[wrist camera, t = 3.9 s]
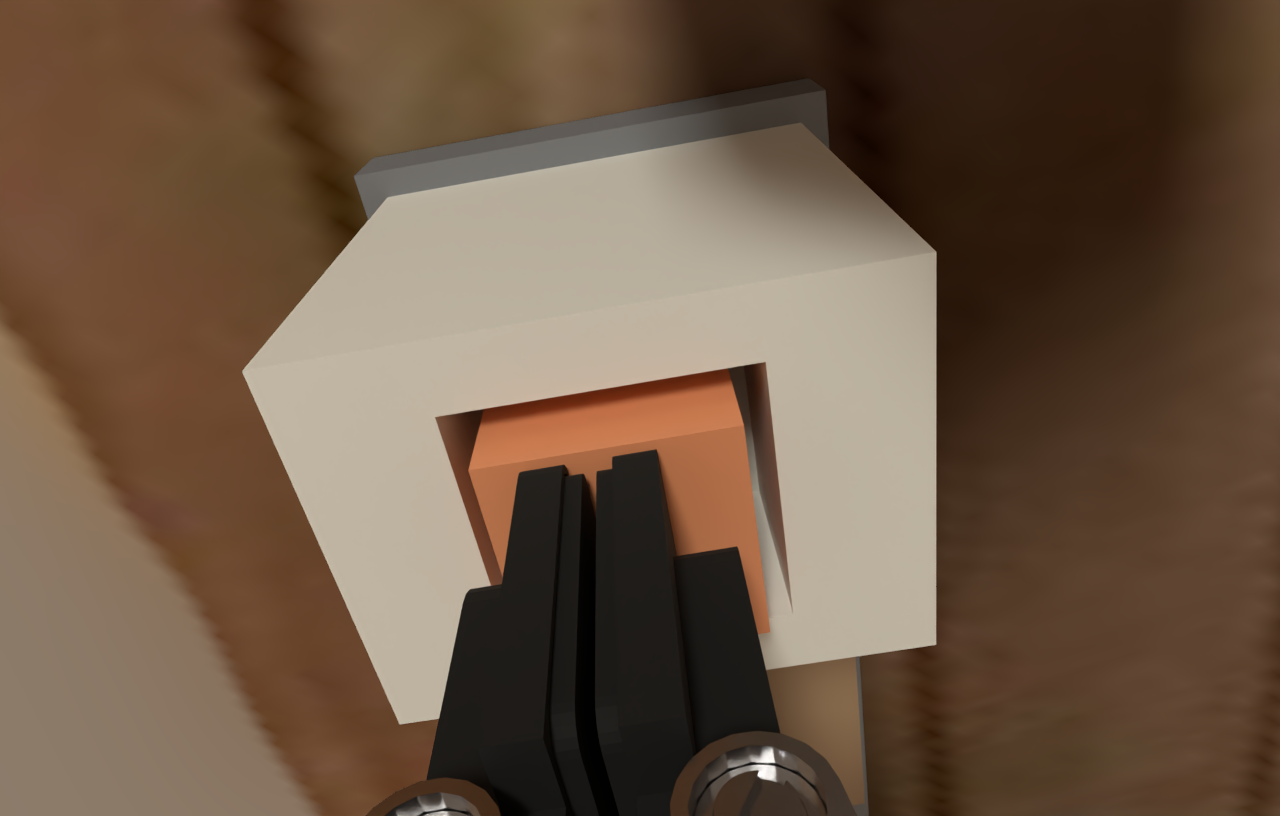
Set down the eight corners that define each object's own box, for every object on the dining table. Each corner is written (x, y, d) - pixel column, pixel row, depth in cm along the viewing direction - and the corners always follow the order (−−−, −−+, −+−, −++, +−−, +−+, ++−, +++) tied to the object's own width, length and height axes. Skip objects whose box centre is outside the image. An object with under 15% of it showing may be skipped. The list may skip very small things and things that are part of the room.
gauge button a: (711, 307, 13) (744, 425, 10) (735, 482, 14) (770, 631, 11) (500, 343, 13) (467, 470, 10) (547, 512, 14) (531, 668, 11)
